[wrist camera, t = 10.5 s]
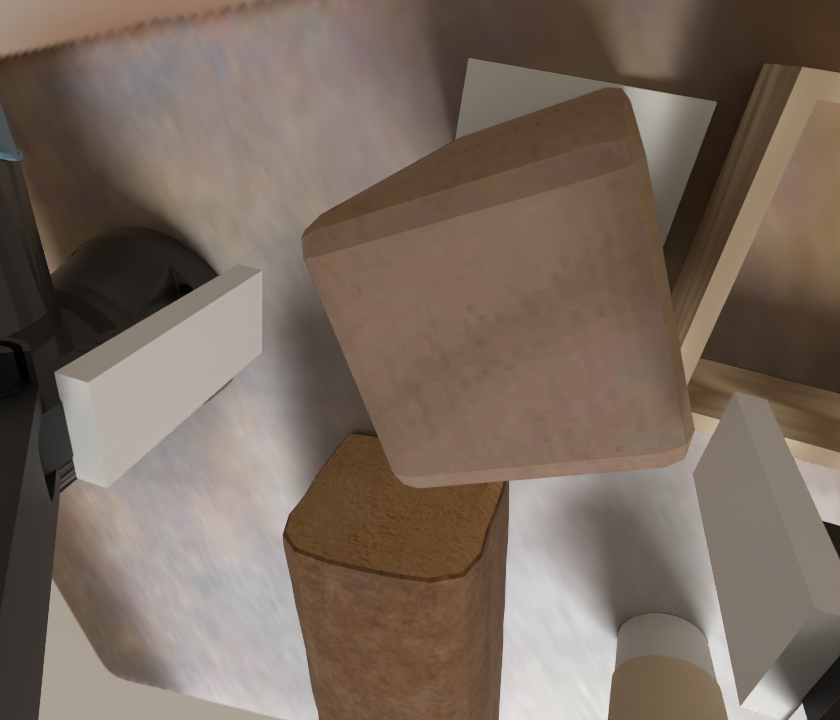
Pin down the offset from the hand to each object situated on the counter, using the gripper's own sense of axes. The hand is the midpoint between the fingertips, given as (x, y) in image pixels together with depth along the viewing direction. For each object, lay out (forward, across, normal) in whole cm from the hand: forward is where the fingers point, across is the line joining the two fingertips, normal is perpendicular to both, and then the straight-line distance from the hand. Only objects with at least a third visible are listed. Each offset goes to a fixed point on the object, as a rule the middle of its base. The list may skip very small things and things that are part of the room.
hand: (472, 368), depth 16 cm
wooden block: (+21, +1, 0) cm, 21 cm away
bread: (+22, -1, -36) cm, 43 cm away
